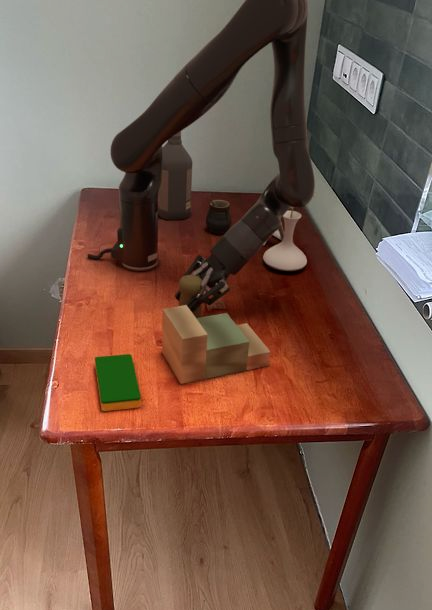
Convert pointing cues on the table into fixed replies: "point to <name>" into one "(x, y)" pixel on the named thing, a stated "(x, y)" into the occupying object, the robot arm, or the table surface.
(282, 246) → the flower in vase
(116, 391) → the dish sponge
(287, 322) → the table surface
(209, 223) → the mate gourd
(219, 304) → the key
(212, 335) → the stepped block
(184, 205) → the liquor
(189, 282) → the brown pawn figure
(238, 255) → the robot arm
